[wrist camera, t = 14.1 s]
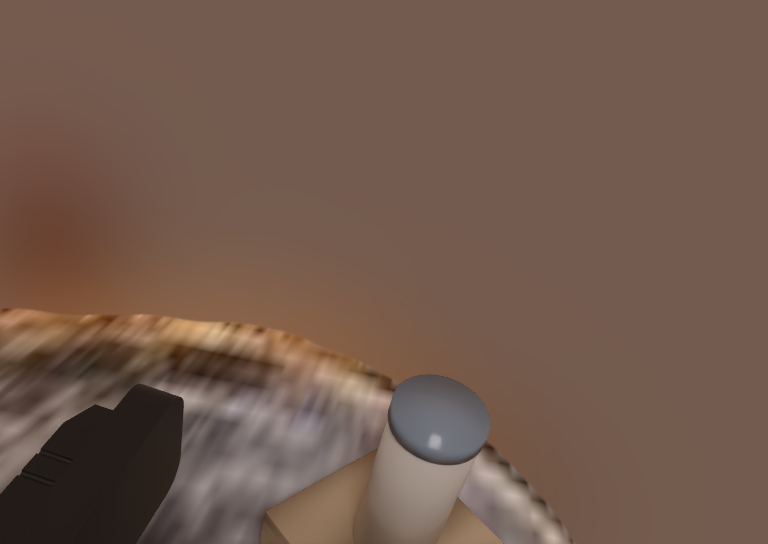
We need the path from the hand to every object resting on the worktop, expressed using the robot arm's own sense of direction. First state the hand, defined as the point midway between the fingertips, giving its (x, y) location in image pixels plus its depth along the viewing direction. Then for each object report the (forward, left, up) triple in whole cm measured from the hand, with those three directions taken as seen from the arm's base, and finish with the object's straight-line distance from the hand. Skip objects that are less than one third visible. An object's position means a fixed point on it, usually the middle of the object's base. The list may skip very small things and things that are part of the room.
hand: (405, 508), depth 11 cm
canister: (-10, +16, -26) cm, 33 cm away
